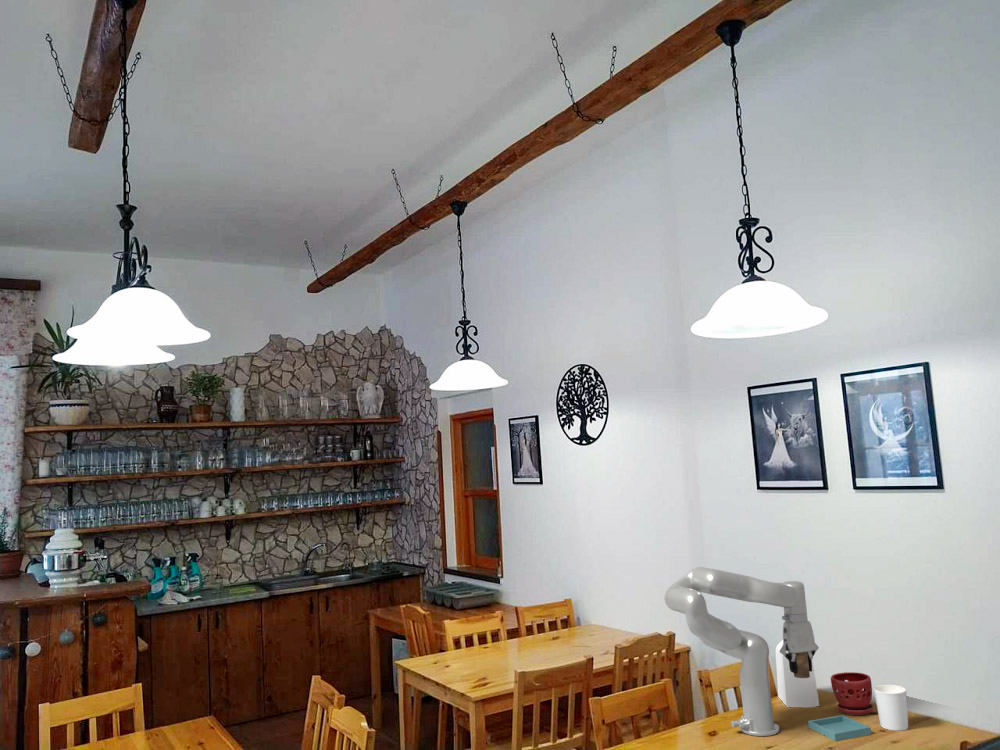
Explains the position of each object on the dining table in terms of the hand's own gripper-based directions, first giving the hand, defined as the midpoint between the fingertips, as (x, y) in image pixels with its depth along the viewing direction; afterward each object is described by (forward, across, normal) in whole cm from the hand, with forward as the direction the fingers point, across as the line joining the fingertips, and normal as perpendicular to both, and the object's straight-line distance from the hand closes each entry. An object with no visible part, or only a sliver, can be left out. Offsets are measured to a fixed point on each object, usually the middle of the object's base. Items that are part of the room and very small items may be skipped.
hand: (801, 671), depth 270 cm
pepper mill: (+2, 0, 0) cm, 2 cm away
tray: (+16, +3, -14) cm, 22 cm away
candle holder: (+16, +21, -18) cm, 32 cm away
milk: (+16, +9, +17) cm, 25 cm away
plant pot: (+16, +20, 0) cm, 25 cm away
